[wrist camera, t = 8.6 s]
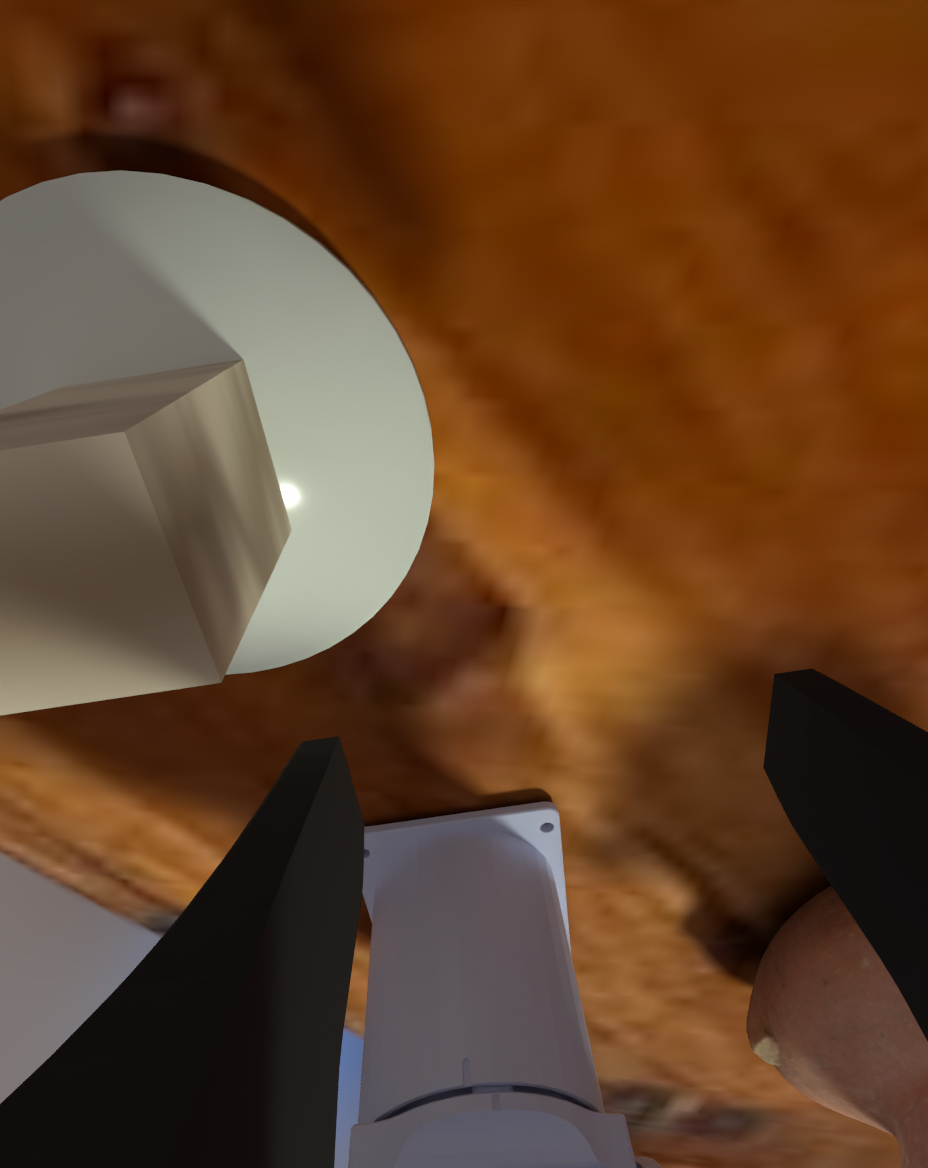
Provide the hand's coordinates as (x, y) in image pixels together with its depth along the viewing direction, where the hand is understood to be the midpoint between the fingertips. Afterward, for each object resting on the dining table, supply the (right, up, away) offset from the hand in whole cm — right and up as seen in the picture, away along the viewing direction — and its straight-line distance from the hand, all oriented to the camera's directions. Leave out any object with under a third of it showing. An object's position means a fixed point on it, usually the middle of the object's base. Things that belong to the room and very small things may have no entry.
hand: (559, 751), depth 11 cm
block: (-9, +6, +6) cm, 12 cm away
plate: (-9, +6, +7) cm, 13 cm away
